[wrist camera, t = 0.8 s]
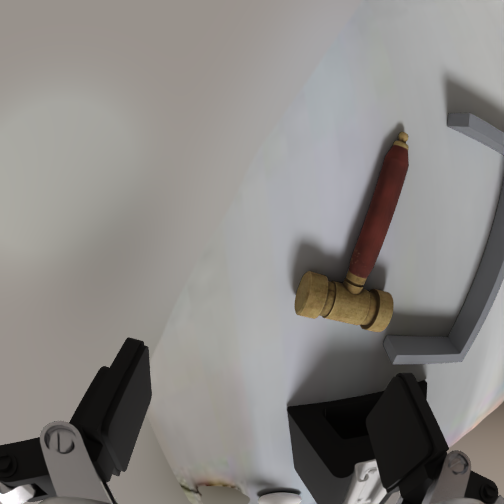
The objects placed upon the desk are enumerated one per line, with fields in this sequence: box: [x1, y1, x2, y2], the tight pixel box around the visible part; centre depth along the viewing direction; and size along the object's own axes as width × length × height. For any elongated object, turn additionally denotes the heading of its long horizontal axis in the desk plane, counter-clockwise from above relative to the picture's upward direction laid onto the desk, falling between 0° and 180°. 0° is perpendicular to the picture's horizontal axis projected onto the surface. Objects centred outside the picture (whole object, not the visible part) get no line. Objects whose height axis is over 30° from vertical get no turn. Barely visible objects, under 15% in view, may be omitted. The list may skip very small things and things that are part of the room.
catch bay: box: [383, 113, 504, 364], centre depth 26 cm, size 12×29×4 cm, turn 172°
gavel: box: [295, 132, 409, 332], centre depth 27 cm, size 21×5×10 cm
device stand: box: [287, 380, 427, 504], centre depth 35 cm, size 22×22×15 cm
